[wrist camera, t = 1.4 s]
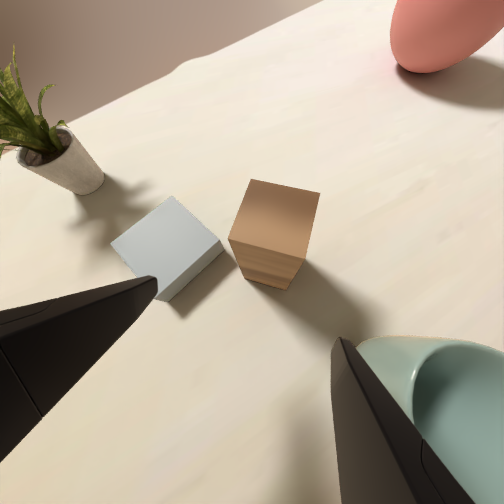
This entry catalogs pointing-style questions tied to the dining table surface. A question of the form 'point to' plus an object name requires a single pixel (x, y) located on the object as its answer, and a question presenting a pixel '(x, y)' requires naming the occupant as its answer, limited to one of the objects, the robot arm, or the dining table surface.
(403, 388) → the cup
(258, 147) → the dining table surface
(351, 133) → the dining table surface
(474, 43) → the balloon
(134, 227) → the pedestal
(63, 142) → the house plant
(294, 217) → the wooden block
